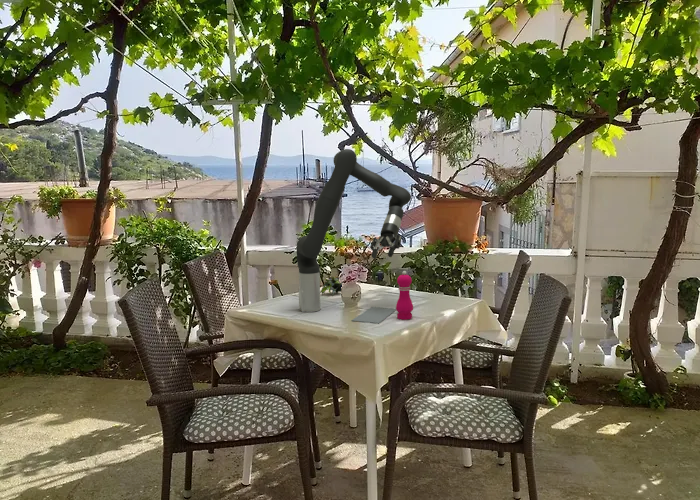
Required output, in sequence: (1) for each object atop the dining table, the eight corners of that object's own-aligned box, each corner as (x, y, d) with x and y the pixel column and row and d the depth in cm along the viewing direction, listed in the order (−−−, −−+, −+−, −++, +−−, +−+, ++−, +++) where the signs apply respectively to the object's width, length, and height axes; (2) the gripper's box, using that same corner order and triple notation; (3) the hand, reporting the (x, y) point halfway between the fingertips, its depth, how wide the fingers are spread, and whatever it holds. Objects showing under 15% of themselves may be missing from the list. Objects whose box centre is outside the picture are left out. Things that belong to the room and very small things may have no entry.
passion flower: (336, 303, 266) (350, 284, 265) (333, 304, 255) (347, 284, 254) (319, 290, 267) (332, 271, 267) (315, 291, 256) (329, 271, 256)
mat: (379, 323, 207) (379, 322, 207) (351, 321, 211) (351, 320, 211) (397, 309, 229) (397, 308, 228) (371, 307, 233) (371, 306, 233)
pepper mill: (402, 314, 220) (401, 268, 217) (416, 317, 215) (416, 270, 213) (392, 318, 214) (392, 271, 212) (407, 321, 210) (406, 273, 207)
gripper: (373, 224, 231) (363, 253, 223) (400, 220, 223) (390, 250, 215) (382, 233, 236) (372, 262, 228) (408, 230, 227) (399, 260, 219)
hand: (381, 256), depth 221 cm, fingers open, 8 cm apart
